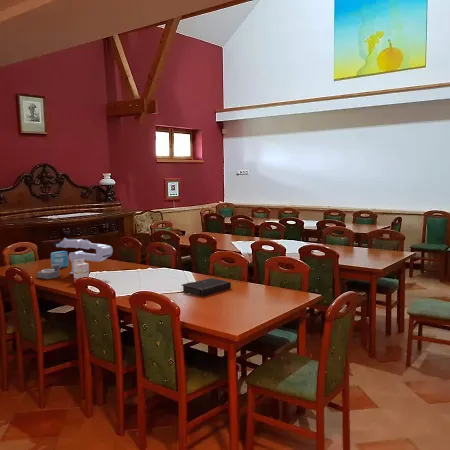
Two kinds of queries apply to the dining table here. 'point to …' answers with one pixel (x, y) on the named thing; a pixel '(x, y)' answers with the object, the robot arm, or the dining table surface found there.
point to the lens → (56, 267)
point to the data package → (59, 258)
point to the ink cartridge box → (80, 269)
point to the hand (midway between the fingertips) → (57, 243)
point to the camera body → (48, 274)
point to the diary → (206, 286)
